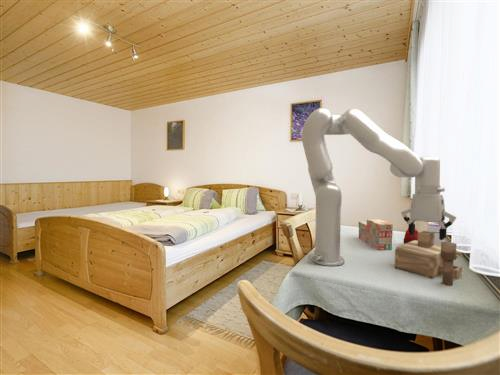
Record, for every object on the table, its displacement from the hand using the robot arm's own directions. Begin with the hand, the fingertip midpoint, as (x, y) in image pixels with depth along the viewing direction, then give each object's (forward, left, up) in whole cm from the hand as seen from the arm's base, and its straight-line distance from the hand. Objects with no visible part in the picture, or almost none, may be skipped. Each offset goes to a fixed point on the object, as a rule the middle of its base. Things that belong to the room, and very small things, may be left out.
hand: (426, 236), depth 95 cm
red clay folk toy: (+25, +14, -12) cm, 31 cm away
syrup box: (+17, +2, -12) cm, 20 cm away
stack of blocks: (+15, +28, -12) cm, 34 cm away
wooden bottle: (-11, -10, -11) cm, 19 cm away
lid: (-2, -2, -5) cm, 6 cm away
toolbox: (-2, -2, -11) cm, 12 cm away
